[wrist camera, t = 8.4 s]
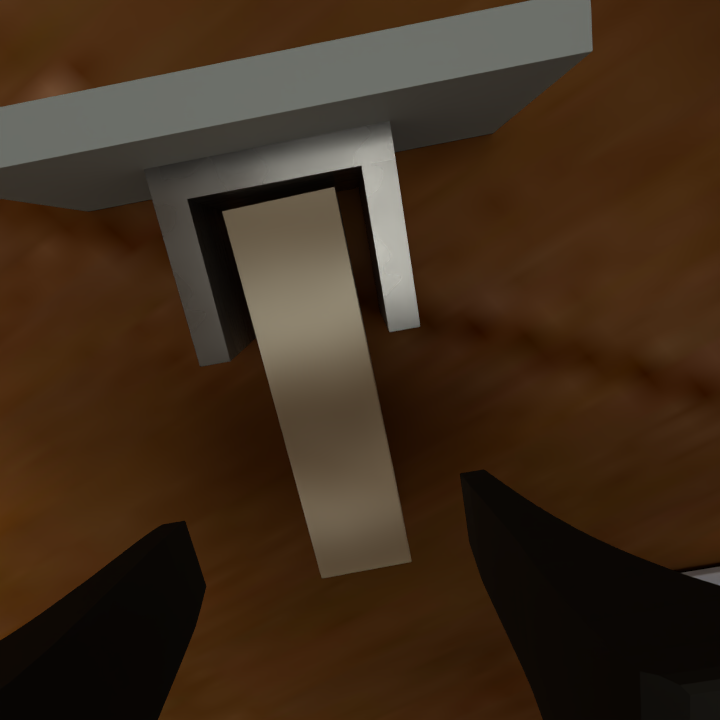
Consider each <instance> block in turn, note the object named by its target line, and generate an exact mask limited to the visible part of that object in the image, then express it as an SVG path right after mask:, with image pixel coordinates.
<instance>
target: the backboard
mask: <svg viewBox="0 0 720 720" xmlns="http://www.w3.org/2000/svg"><path fill="white" fill-rule="evenodd" d="M591 52H592V26H591V0H531V1H526V2H521V3H516V4H511V5H506V6H501V7H496V8H491V9H486V10H481V11H476V12H471V13H467V14H462V15H457V16H452V17H447V18H442V19H437V20H432V21H427V22H422V23H417V24H412V25H407V26H402V27H397V28H392V29H387V30H382V31H377V32H372V33H367V34H362V35H357V36H352V37H347V38H342V39H337V40H332V41H327V42H322V43H317V44H312V45H308V46H303V47H298V48H293V49H288V50H283V51H278V52H273V53H268V54H263V55H258V56H253V57H248V58H243V59H238V60H233V61H228V62H223V63H218V64H213V65H208V66H203V67H198V68H193V69H188V70H183V71H178V72H173V73H168V74H163V75H158V76H153V77H149V78H144V79H139V80H134V81H129V82H124V83H119V84H114V85H109V86H104V87H99V88H94V89H89V90H84V91H79V92H74V93H69V94H64V95H59V96H54V97H49V98H44V99H39V100H34V101H29V102H24V103H19V104H14V105H9V106H4V107H0V199H7V200H14V201H21V202H27V203H34V204H41V205H48V206H55V207H62V208H68V209H75V210H82V211H94V210H99V209H104V208H109V207H115V206H120V205H125V204H130V203H135V202H140V201H146V200H151V199H152V197H151V193H150V190H149V186H148V183H147V179H146V176H145V172H144V169H148V168H153V167H158V166H163V165H168V164H173V163H178V162H184V161H189V160H194V159H199V158H204V157H209V156H214V155H219V154H224V153H230V152H235V151H240V150H245V149H250V148H255V147H260V146H265V145H270V144H276V143H281V142H286V141H291V140H296V139H301V138H306V137H311V136H317V135H322V134H327V133H332V132H337V131H342V130H347V129H352V128H357V127H363V126H368V125H373V124H378V123H383V122H388V121H390V126H391V133H392V139H393V146H394V152H399V151H404V150H409V149H414V148H419V147H425V146H430V145H435V144H440V143H445V142H450V141H456V140H461V139H466V138H471V137H476V136H481V135H487V134H492V133H494V132H495V131H496V130H497V129H499V128H500V127H501V126H502V125H504V124H505V123H506V122H507V121H508V120H510V119H511V118H512V117H513V116H514V115H516V114H517V113H518V112H519V111H520V110H522V109H523V108H524V107H525V106H527V105H528V104H529V103H530V102H531V101H533V100H534V99H535V98H536V97H537V96H539V95H540V94H541V93H542V92H543V91H545V90H546V89H547V88H548V87H550V86H551V85H552V84H553V83H554V82H556V81H557V80H558V79H559V78H560V77H562V76H563V75H564V74H565V73H566V72H568V71H569V70H570V69H571V68H573V67H574V66H575V65H576V64H577V63H579V62H580V61H581V60H582V59H583V58H585V57H586V56H587V55H588V54H589V53H591Z"/></svg>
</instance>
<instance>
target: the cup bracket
mask: <svg viewBox="0 0 720 720" xmlns="http://www.w3.org/2000/svg"><path fill="white" fill-rule="evenodd" d="M144 172H145V176H146V179H147V183H148V186H149V190H150V193H151V197H152V200H153V204H154V207H155V211H156V214H157V218H158V221H159V225H160V228H161V232H162V235H163V239H164V242H165V246H166V249H167V253H168V256H169V260H170V263H171V267H172V270H173V274H174V277H175V281H176V284H177V288H178V291H179V295H180V298H181V302H182V305H183V309H184V312H185V316H186V319H187V323H188V326H189V330H190V333H191V337H192V340H193V344H194V347H195V351H196V354H197V358H198V361H199V364H200V367H201V366H207V365H212V364H218V363H223V362H229V361H231V360H232V359H233V358H234V357H235V356H237V355H238V354H239V353H240V352H241V351H242V350H243V349H244V348H245V347H246V346H247V345H249V344H250V343H251V342H252V341H253V340H254V339H255V338H256V334H255V331H254V327H253V323H252V319H251V316H250V312H249V308H248V305H247V301H246V297H245V294H244V290H243V286H242V283H241V279H240V275H239V272H238V268H237V264H236V261H235V257H234V253H233V249H232V246H231V242H230V238H229V235H228V231H227V227H226V224H225V220H224V216H223V213H222V211H226V210H231V209H236V208H240V207H245V206H249V205H254V204H259V203H263V202H268V201H272V200H277V199H282V198H286V197H291V196H295V195H300V194H305V193H309V192H314V191H318V190H323V189H327V188H332V187H334V188H335V191H336V192H337V191H343V190H348V189H353V188H358V187H359V191H360V197H361V203H362V209H363V215H364V220H365V226H366V232H367V238H368V244H369V250H370V256H371V261H372V267H373V273H374V279H375V285H376V291H377V297H378V302H379V308H380V313H381V315H382V317H383V320H384V322H385V324H386V326H387V328H388V330H389V332H393V331H399V330H404V329H410V328H415V327H420V321H419V315H418V308H417V301H416V294H415V288H414V281H413V274H412V267H411V261H410V254H409V247H408V240H407V234H406V227H405V220H404V213H403V207H402V200H401V193H400V186H399V180H398V173H397V166H396V160H395V153H394V146H393V139H392V133H391V126H390V121H388V122H383V123H378V124H373V125H368V126H363V127H357V128H352V129H347V130H342V131H337V132H332V133H327V134H322V135H317V136H311V137H306V138H301V139H296V140H291V141H286V142H281V143H276V144H270V145H265V146H260V147H255V148H250V149H245V150H240V151H235V152H230V153H224V154H219V155H214V156H209V157H204V158H199V159H194V160H189V161H184V162H178V163H173V164H168V165H163V166H158V167H153V168H148V169H144Z"/></svg>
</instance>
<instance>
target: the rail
mask: <svg viewBox="0 0 720 720" xmlns="http://www.w3.org/2000/svg"><path fill="white" fill-rule="evenodd" d="M222 213H223V216H224V220H225V224H226V227H227V231H228V235H229V238H230V242H231V246H232V249H233V253H234V257H235V261H236V264H237V268H238V272H239V275H240V279H241V283H242V286H243V290H244V294H245V297H246V301H247V305H248V308H249V312H250V316H251V319H252V323H253V327H254V331H255V334H256V338H257V342H258V345H259V349H260V353H261V356H262V360H263V364H264V367H265V371H266V375H267V378H268V382H269V386H270V390H271V393H272V397H273V401H274V404H275V408H276V412H277V415H278V419H279V423H280V426H281V430H282V434H283V437H284V441H285V445H286V448H287V452H288V456H289V460H290V463H291V467H292V471H293V474H294V478H295V482H296V485H297V489H298V493H299V496H300V500H301V504H302V507H303V511H304V515H305V518H306V522H307V526H308V530H309V533H310V537H311V541H312V544H313V548H314V552H315V555H316V559H317V563H318V566H319V570H320V574H321V577H322V578H327V577H332V576H338V575H343V574H348V573H354V572H359V571H365V570H370V569H375V568H381V567H386V566H392V565H397V564H402V563H408V562H412V561H411V556H410V551H409V545H408V540H407V535H406V530H405V524H404V519H403V514H402V508H401V503H400V498H399V494H398V489H397V484H396V479H395V474H394V469H393V464H392V459H391V455H390V450H389V445H388V440H387V435H386V430H385V425H384V421H383V416H382V411H381V406H380V401H379V396H378V391H377V386H376V382H375V377H374V372H373V367H372V362H371V357H370V352H369V348H368V343H367V338H366V333H365V328H364V323H363V318H362V313H361V309H360V304H359V299H358V294H357V289H356V284H355V279H354V275H353V270H352V265H351V260H350V255H349V250H348V245H347V240H346V236H345V231H344V226H343V221H342V216H341V211H340V206H339V202H338V198H337V194H336V191H335V188H334V187H332V188H327V189H323V190H318V191H314V192H309V193H305V194H300V195H295V196H291V197H286V198H282V199H277V200H272V201H268V202H263V203H259V204H254V205H249V206H245V207H240V208H236V209H231V210H226V211H222Z"/></svg>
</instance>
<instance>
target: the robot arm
mask: <svg viewBox="0 0 720 720" xmlns="http://www.w3.org/2000/svg"><path fill="white" fill-rule="evenodd" d="M460 477H461V484H462V492H463V499H464V506H465V514H466V521H467V528H468V536H469V542H470V546H471V549H472V552H473V555H474V558H475V561H476V564H477V567H478V570H479V573H480V576H481V579H482V581H483V583H484V586H485V588H486V590H487V592H488V594H489V596H490V599H491V601H492V603H493V605H494V607H495V609H496V612H497V614H498V616H499V618H500V620H501V622H502V624H503V627H504V629H505V631H506V633H507V635H508V637H509V639H510V642H511V644H512V646H513V648H514V650H515V652H516V654H517V657H518V659H519V661H520V663H521V665H522V667H523V670H524V672H525V674H526V677H527V679H528V681H529V684H530V686H531V688H532V691H533V693H534V696H535V699H536V702H537V704H538V707H539V710H540V712H541V715H542V718H543V720H720V567H714V568H707V569H701V570H695V571H689V572H683V573H679V572H676V571H673V570H671V569H668V568H665V567H663V566H660V565H657V564H655V563H652V562H650V561H647V560H644V559H642V558H639V557H636V556H634V555H632V554H629V553H627V552H625V551H622V550H620V549H618V548H615V547H613V546H611V545H609V544H607V543H605V542H603V541H600V540H598V539H596V538H594V537H592V536H590V535H588V534H586V533H584V532H582V531H580V530H578V529H576V528H574V527H572V526H571V525H569V524H567V523H565V522H563V521H562V520H560V519H558V518H556V517H555V516H553V515H551V514H549V513H548V512H546V511H545V510H543V509H541V508H540V507H538V506H536V505H535V504H533V503H532V502H530V501H529V500H527V499H526V498H524V497H523V496H521V495H520V494H518V493H517V492H515V491H514V490H512V489H511V488H509V487H508V486H507V485H505V484H504V483H502V482H501V481H499V480H498V479H497V478H495V477H494V476H492V475H491V474H490V473H488V472H487V471H485V470H478V471H473V472H467V473H461V474H460ZM205 589H206V584H205V581H204V578H203V575H202V572H201V568H200V565H199V562H198V559H197V556H196V553H195V550H194V547H193V544H192V541H191V538H190V535H189V531H188V528H187V525H186V522H185V521H181V522H175V523H169V524H163V525H161V526H159V527H158V528H156V529H155V530H153V531H152V532H150V533H149V534H147V535H146V536H144V537H143V538H142V539H140V540H139V541H138V542H136V543H135V544H134V545H132V546H131V547H130V548H128V549H127V550H126V551H124V552H123V553H122V554H121V555H119V556H118V557H117V558H115V559H114V560H113V561H111V562H110V563H109V564H108V565H106V566H105V567H104V568H102V569H101V570H100V571H98V572H97V573H96V574H95V575H93V576H92V577H91V578H89V579H88V580H87V581H85V582H84V583H83V584H81V585H80V586H78V587H77V588H76V589H74V590H73V591H72V592H70V593H69V594H67V595H66V596H65V597H63V598H62V599H61V600H59V601H58V602H56V603H55V604H54V605H52V606H51V607H50V608H48V609H47V610H45V611H44V612H43V613H41V614H40V615H38V616H37V617H35V618H34V619H33V620H31V621H30V622H28V623H27V624H25V625H24V626H22V627H21V628H19V629H18V630H16V631H15V632H13V633H11V634H10V635H8V636H7V637H5V638H4V639H2V640H0V720H158V718H159V715H160V713H161V710H162V708H163V706H164V703H165V701H166V698H167V696H168V693H169V691H170V689H171V686H172V684H173V681H174V679H175V676H176V674H177V672H178V669H179V667H180V664H181V662H182V659H183V657H184V654H185V652H186V649H187V647H188V644H189V642H190V639H191V637H192V634H193V632H194V629H195V627H196V623H197V620H198V616H199V613H200V609H201V605H202V601H203V597H204V593H205Z"/></svg>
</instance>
